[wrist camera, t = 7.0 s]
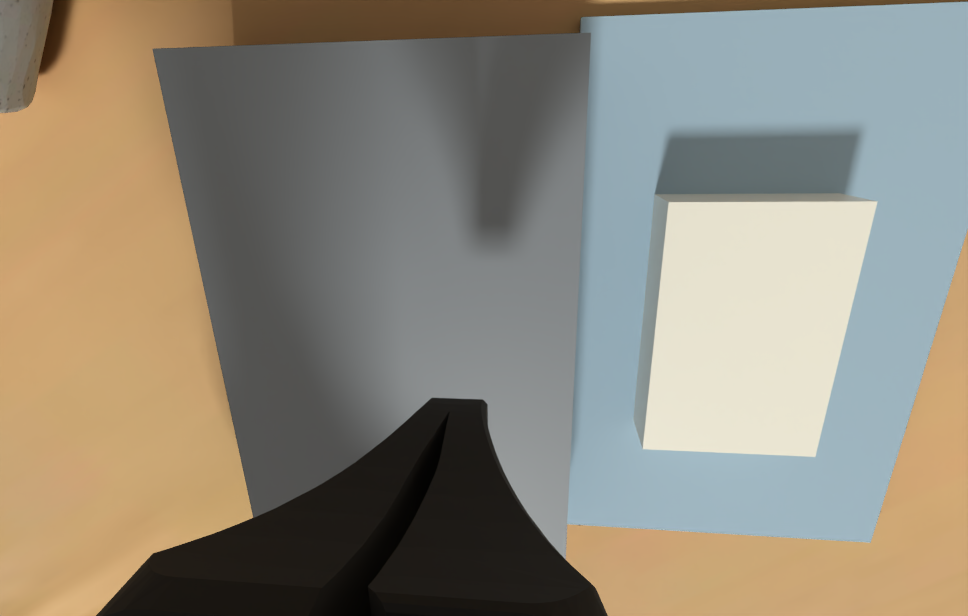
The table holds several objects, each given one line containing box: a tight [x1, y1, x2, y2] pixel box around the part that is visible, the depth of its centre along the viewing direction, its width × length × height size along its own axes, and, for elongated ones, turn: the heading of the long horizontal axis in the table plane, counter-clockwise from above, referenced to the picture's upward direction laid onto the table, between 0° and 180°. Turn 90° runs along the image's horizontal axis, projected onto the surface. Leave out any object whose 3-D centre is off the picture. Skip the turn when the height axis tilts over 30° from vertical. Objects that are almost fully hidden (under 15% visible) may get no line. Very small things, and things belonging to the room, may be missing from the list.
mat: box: [567, 2, 968, 543], centre depth 19 cm, size 20×13×1 cm, turn 1°
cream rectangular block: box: [633, 193, 878, 457], centre depth 18 cm, size 9×6×2 cm, turn 1°
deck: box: [153, 33, 591, 560], centre depth 18 cm, size 18×12×4 cm, turn 1°
